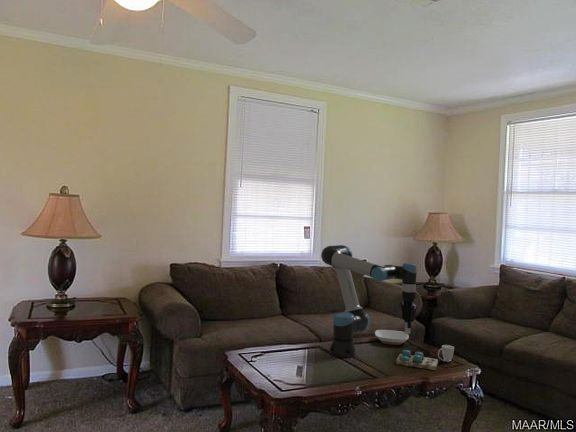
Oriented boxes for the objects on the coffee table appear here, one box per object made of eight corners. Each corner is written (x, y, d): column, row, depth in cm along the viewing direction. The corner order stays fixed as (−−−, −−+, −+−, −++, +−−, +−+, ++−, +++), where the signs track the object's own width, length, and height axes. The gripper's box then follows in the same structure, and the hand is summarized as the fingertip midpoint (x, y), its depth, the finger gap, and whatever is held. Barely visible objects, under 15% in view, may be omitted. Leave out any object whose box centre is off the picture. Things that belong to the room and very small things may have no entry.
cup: (456, 362, 268) (457, 348, 268) (441, 363, 265) (442, 349, 265) (448, 358, 275) (449, 344, 274) (434, 359, 271) (434, 345, 271)
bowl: (374, 345, 296) (374, 337, 296) (374, 336, 318) (374, 328, 318) (409, 348, 293) (410, 339, 293) (407, 339, 314) (407, 331, 314)
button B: (401, 356, 267) (402, 351, 267) (403, 354, 271) (403, 349, 271) (409, 358, 266) (409, 352, 266) (410, 355, 270) (411, 350, 270)
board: (396, 363, 261) (396, 359, 261) (400, 357, 274) (400, 352, 273) (435, 370, 253) (435, 365, 252) (437, 362, 265) (438, 358, 265)
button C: (412, 362, 259) (413, 356, 259) (413, 359, 263) (414, 354, 263) (421, 363, 257) (421, 357, 257) (422, 361, 261) (422, 355, 261)
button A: (399, 362, 261) (400, 357, 261) (401, 360, 265) (401, 355, 265) (407, 364, 260) (408, 358, 260) (409, 361, 264) (409, 356, 264)
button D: (414, 358, 265) (414, 353, 265) (415, 356, 269) (415, 351, 269) (422, 359, 263) (422, 354, 263) (423, 357, 267) (423, 352, 267)
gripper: (421, 292, 258) (420, 336, 258) (407, 289, 270) (406, 330, 270) (410, 293, 255) (408, 336, 255) (396, 289, 267) (395, 331, 267)
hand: (407, 333), depth 262 cm, fingers closed
